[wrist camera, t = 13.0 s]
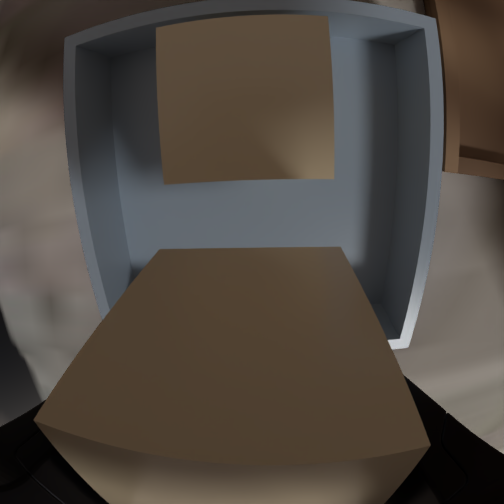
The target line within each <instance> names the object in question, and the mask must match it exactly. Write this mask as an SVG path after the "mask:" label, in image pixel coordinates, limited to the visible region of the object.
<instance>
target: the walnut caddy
mask: <svg viewBox="0 0 504 504" xmlns="http://www.w3.org/2000/svg"><path fill="white" fill-rule="evenodd" d="M423 1H424V7H425V13H426V16H429V17H432V18H435V19H436V24H437V31H438V38H439V47H440V56H441V67H442V81H443V105H444V137H443V162H442V171H444V172H451V173H459V174H467V175H475V176H482V177H489V178H495V179H502V180H504V0H423Z"/></svg>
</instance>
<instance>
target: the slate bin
mask: <svg viewBox="0 0 504 504" xmlns="http://www.w3.org/2000/svg"><path fill="white" fill-rule="evenodd" d="M276 14H288V15H317V16H328V22H329V33H330V45H331V60H332V77H333V99H334V179H272V180H238V181H216V182H198V183H183V184H169V185H164V181H163V171H162V160H161V148H160V134H159V119H158V101H157V75H156V28H157V27H162V26H167V25H172V24H178V23H184V22H190V21H197V20H204V19H212V18H222V17H233V16H247V15H276ZM63 95H64V121H65V135H66V147H67V157H68V166H69V174H70V181H71V188H72V195H73V201H74V207H75V213H76V218H77V223H78V228H79V233H80V238H81V243H82V247H83V252H84V256H85V260H86V264H87V268H88V272H89V276H90V280H91V283H92V287H93V291H94V294H95V298H96V301H97V304H98V308H99V311H100V314H101V317H102V320H103V319H104V318H105V316H106V315H107V314H108V312H109V311H110V310H111V308H112V307H113V306H114V305H115V303H116V302H117V301H118V299H119V298H120V297H121V296H122V294H123V293H124V292H125V291H126V289H127V288H128V287H129V286H130V284H131V283H132V282H133V281H134V279H135V278H136V277H137V276H138V274H139V273H140V272H141V271H142V270H143V268H144V267H145V266H146V265H147V263H148V262H149V261H150V260H151V259H152V257H153V256H154V255H155V254H156V253H157V251H158V250H159V249H192V248H263V247H341V248H342V250H343V252H344V254H345V256H346V258H347V259H348V261H349V263H350V265H351V267H352V269H353V271H354V273H355V275H356V277H357V278H358V280H359V282H360V284H361V286H362V288H363V290H364V292H365V294H366V296H367V298H368V300H369V302H370V304H371V306H372V308H373V310H374V312H375V314H376V317H377V319H378V321H379V323H380V325H381V327H382V329H383V331H384V333H385V336H386V338H387V340H388V342H389V344H390V346H391V349H401V348H408V347H409V343H410V340H411V337H412V333H413V330H414V326H415V323H416V319H417V316H418V312H419V308H420V304H421V300H422V296H423V292H424V287H425V283H426V278H427V274H428V269H429V264H430V259H431V253H432V248H433V242H434V236H435V229H436V222H437V215H438V207H439V198H440V188H441V176H442V162H443V137H444V105H443V81H442V67H441V56H440V47H439V38H438V31H437V24H436V19H435V18H432V17H429V16H425V15H421V14H418V13H414V12H410V11H405V10H401V9H397V8H392V7H387V6H382V5H376V4H370V3H364V2H357V1H350V0H207V1H199V2H192V3H186V4H180V5H175V6H169V7H164V8H159V9H155V10H150V11H146V12H142V13H138V14H134V15H130V16H127V17H123V18H120V19H116V20H113V21H110V22H106V23H103V24H100V25H97V26H94V27H91V28H89V29H86V30H83V31H80V32H78V33H75V34H72V35H70V36H67V37H65V42H64V66H63Z"/></svg>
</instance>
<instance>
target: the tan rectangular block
mask: <svg viewBox="0 0 504 504" xmlns="http://www.w3.org/2000/svg"><path fill="white" fill-rule="evenodd" d="M156 75H157V101H158V119H159V134H160V148H161V160H162V171H163V181H164V185H169V184H183V183H198V182H216V181H238V180H272V179H334V99H333V77H332V60H331V45H330V33H329V22H328V16H317V15H288V14H276V15H247V16H233V17H222V18H212V19H204V20H197V21H190V22H184V23H178V24H172V25H167V26H162V27H157V28H156Z"/></svg>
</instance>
